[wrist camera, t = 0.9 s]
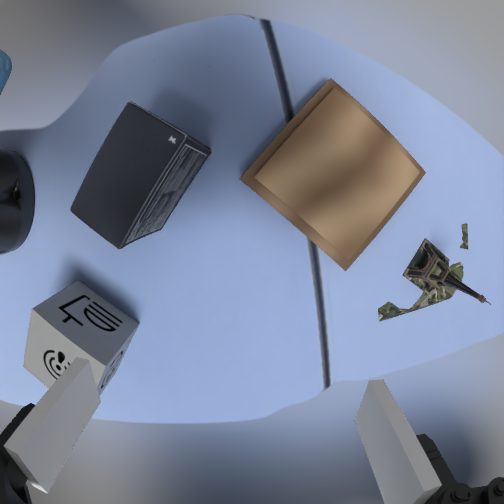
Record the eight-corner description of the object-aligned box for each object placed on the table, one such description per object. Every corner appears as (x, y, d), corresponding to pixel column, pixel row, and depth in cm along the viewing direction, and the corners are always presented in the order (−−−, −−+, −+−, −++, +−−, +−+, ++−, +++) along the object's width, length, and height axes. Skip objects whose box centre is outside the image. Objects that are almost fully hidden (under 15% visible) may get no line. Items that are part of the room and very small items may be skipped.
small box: (166, 120, 29) (127, 95, 19) (213, 150, 30) (192, 134, 20) (117, 201, 31) (65, 209, 21) (161, 232, 32) (121, 253, 22)
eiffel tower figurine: (375, 321, 34) (422, 382, 21) (367, 244, 32) (426, 279, 19) (465, 290, 33) (526, 328, 20) (464, 220, 31) (535, 239, 18)
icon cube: (78, 280, 33) (32, 308, 24) (139, 323, 34) (105, 366, 25) (61, 332, 35) (23, 366, 26) (116, 372, 36) (86, 415, 27)
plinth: (241, 179, 30) (238, 178, 27) (324, 86, 28) (332, 74, 24) (338, 263, 32) (348, 274, 28) (413, 172, 30) (430, 172, 26)
